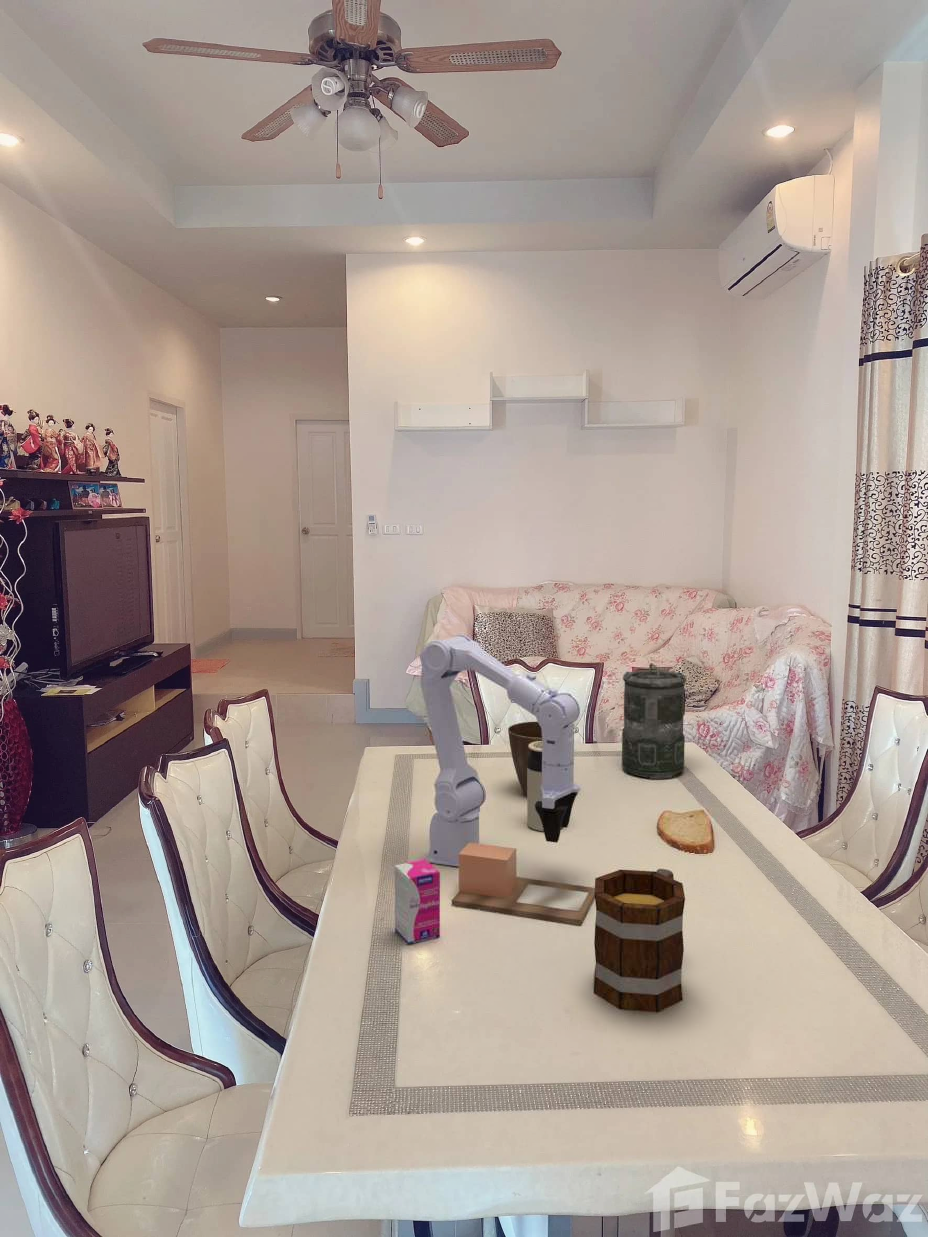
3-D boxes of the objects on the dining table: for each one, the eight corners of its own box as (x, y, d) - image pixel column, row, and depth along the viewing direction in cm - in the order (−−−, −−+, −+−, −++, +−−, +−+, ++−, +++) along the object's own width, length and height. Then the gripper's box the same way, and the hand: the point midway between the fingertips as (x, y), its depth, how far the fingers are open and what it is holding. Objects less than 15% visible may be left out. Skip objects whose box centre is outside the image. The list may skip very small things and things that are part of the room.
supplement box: (408, 946, 141) (407, 877, 140) (394, 931, 146) (392, 864, 145) (441, 938, 144) (440, 870, 142) (426, 923, 149) (424, 857, 147)
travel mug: (522, 829, 191) (522, 748, 188) (533, 817, 198) (533, 738, 196) (558, 834, 188) (558, 751, 185) (568, 821, 195) (568, 742, 193)
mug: (666, 1024, 119) (668, 918, 118) (575, 995, 127) (575, 895, 125) (710, 960, 136) (712, 866, 134) (626, 938, 143) (627, 848, 141)
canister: (614, 763, 238) (615, 660, 234) (671, 760, 240) (673, 658, 236) (631, 781, 222) (633, 671, 219) (693, 778, 224) (695, 669, 220)
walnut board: (451, 905, 155) (451, 899, 155) (476, 876, 167) (476, 870, 167) (580, 926, 147) (580, 919, 147) (597, 893, 159) (597, 887, 159)
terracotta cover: (459, 891, 158) (458, 853, 158) (469, 878, 164) (469, 842, 163) (507, 898, 155) (506, 860, 154) (516, 885, 161) (516, 848, 160)
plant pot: (580, 790, 216) (581, 726, 214) (553, 808, 204) (553, 740, 201) (526, 780, 224) (526, 718, 222) (496, 797, 212) (496, 732, 209)
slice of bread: (702, 860, 175) (702, 842, 174) (629, 835, 188) (629, 818, 188) (751, 837, 186) (752, 819, 186) (680, 814, 200) (680, 798, 199)
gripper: (570, 775, 152) (569, 851, 154) (588, 752, 166) (587, 822, 167) (530, 771, 154) (530, 846, 156) (551, 749, 168) (550, 818, 170)
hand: (557, 833), depth 162 cm, fingers open, 7 cm apart
